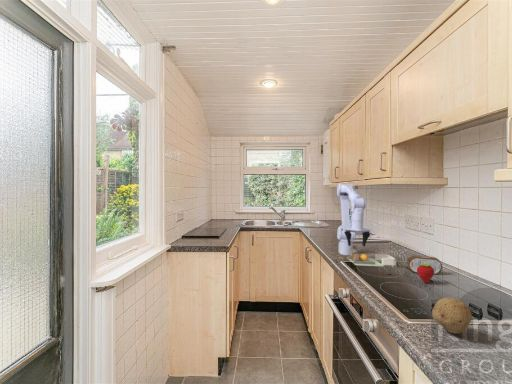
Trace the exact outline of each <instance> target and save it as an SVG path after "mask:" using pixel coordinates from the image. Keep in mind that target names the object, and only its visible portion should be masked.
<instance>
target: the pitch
mask: <svg viewBox="0 0 512 384" xmlns="http://www.w3.org/2000/svg"><path fill="white" fill-rule="evenodd" d="M346 259H348V260H349V261H350V262H351V263H353V264H354V266H363V267H364V266H367V267H368V266H369V267H385V266H397V259H396V258H395V257H394V256H391V255H390V254H387V253H385V254H384V253H383V254H382V253H375V254H374V258H373V257H372V258H371V257H368V260H367V261H361V260H360V256H359V261H353V260H351V259H350V255H347V256H346ZM379 261H381V262H379Z"/></svg>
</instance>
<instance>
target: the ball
mask: <svg viewBox="0 0 512 384" xmlns="http://www.w3.org/2000/svg"><path fill="white" fill-rule="evenodd" d="M359 257H360V260H361V261H367V260H368V258H369V257H368V255H367V254H365V253H362V254H360V255H359Z"/></svg>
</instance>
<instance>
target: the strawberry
mask: <svg viewBox="0 0 512 384" xmlns="http://www.w3.org/2000/svg"><path fill="white" fill-rule="evenodd" d="M422 264H423V263H422ZM416 274H417V275H418V277H419V278H420V280H421V281H422V282H423V283H424V284H427V283H429V282H430V280H431V279H432V278H433V277H434V269H433V268H432V266H431V265H426V264H423V265H422V266H419V267H418V268H417V273H416Z"/></svg>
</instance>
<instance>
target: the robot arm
mask: <svg viewBox="0 0 512 384" xmlns="http://www.w3.org/2000/svg"><path fill="white" fill-rule="evenodd" d="M336 195H337V198H338V199H340V213H341V214H340V215H341V225H339V226H338V228H337V231H336V238H337V240H338V248H337V249H338V254H340V255H343V256H350V255H351V252H352V250H353V243H354V241H355V240H356V237H357V234H356V233H362V242H361V243H362V247H366V243H367V241H368V239H369V237H370V236H371V234H372V228H364V211H365V208H366V207H367V206H366V205H367V202H366V198H365V197H362V196H361V195H360V194H359V193H358V192H357V191H356V185H355V183H340V182H339V183H337V185H336ZM349 201H350V202H349ZM350 207H351V213H352V214H351V217H350ZM350 220H351V221H350Z"/></svg>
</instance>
